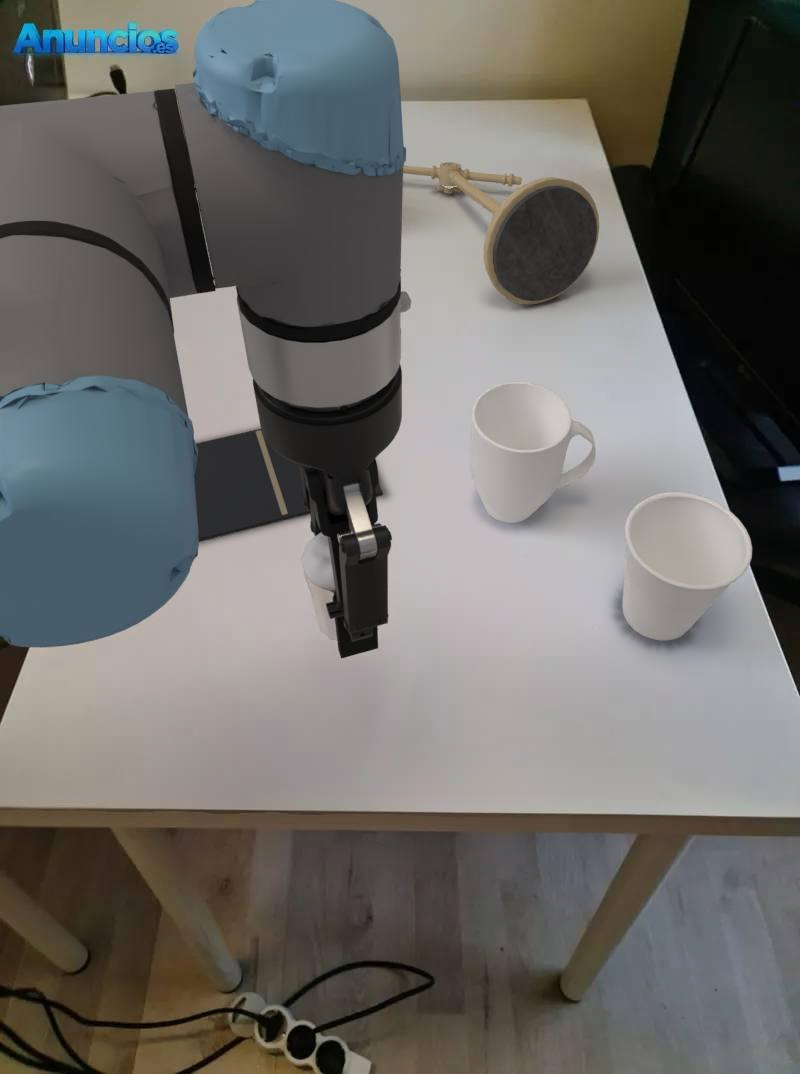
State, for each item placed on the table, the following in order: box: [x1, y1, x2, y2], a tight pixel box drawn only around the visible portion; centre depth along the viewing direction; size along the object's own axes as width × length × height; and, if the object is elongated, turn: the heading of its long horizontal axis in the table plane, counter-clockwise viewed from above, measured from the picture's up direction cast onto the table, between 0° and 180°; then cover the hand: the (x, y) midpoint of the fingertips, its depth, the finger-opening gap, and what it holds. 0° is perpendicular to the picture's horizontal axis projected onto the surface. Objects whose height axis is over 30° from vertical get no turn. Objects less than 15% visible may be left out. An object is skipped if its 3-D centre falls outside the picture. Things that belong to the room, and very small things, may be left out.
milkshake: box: [300, 533, 337, 642], centre depth 56 cm, size 4×5×10 cm
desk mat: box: [194, 428, 384, 542], centre depth 86 cm, size 20×13×1 cm, turn 108°
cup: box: [621, 491, 753, 642], centre depth 70 cm, size 10×10×11 cm
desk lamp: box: [403, 161, 600, 306], centre depth 110 cm, size 15×35×40 cm
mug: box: [469, 381, 597, 524], centre depth 78 cm, size 12×9×12 cm
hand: (348, 621), depth 60 cm, fingers closed on milkshake, 4 cm apart
